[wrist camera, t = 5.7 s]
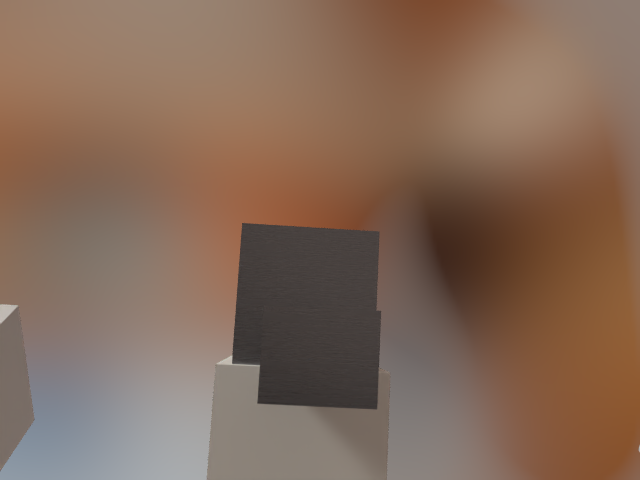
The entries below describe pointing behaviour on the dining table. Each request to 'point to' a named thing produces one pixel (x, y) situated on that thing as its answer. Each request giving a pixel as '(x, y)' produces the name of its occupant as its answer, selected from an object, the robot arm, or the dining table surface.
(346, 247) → the steel bar
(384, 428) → the stand
